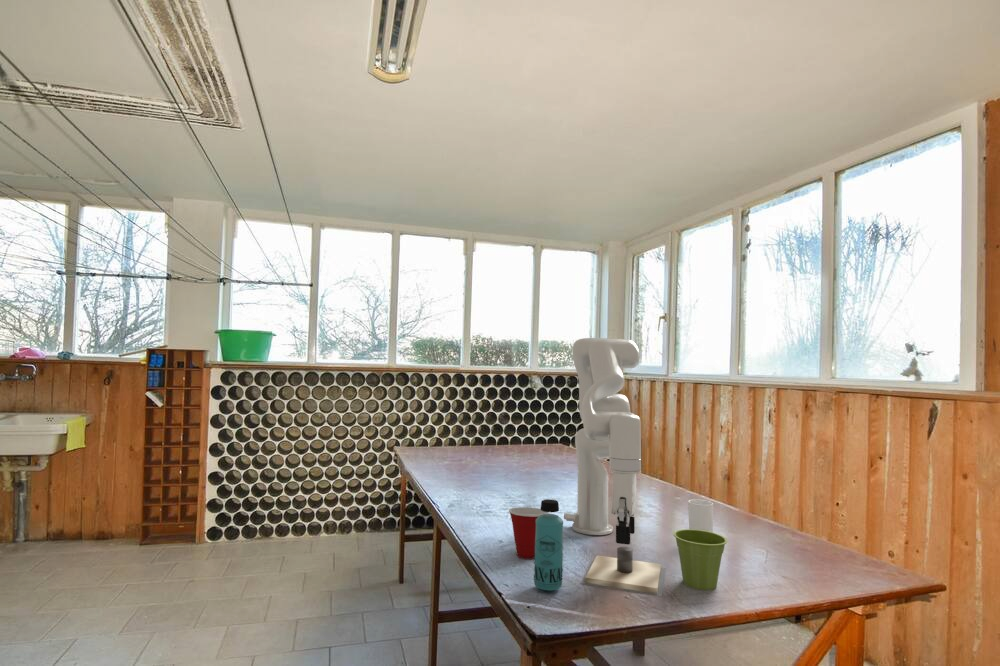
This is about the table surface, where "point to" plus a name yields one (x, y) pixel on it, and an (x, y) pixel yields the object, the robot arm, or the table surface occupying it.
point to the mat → (660, 589)
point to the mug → (700, 515)
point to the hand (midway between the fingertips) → (625, 538)
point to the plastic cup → (525, 530)
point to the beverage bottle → (548, 548)
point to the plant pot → (700, 557)
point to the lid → (625, 572)
